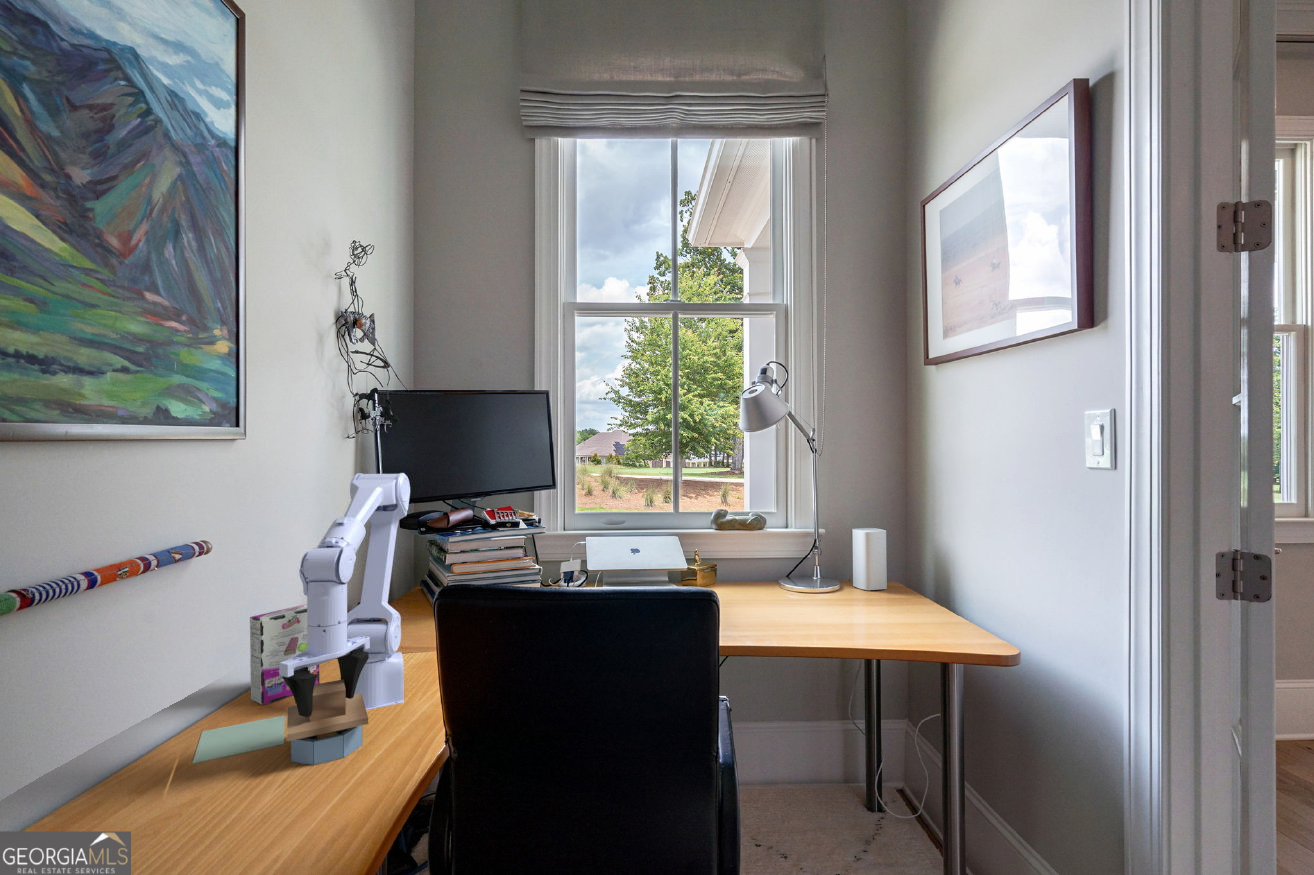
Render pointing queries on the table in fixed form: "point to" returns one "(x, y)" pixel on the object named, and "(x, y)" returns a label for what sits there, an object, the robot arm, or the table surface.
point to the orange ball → (326, 734)
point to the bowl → (326, 746)
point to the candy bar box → (276, 651)
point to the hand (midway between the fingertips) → (327, 706)
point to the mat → (240, 739)
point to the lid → (327, 712)
